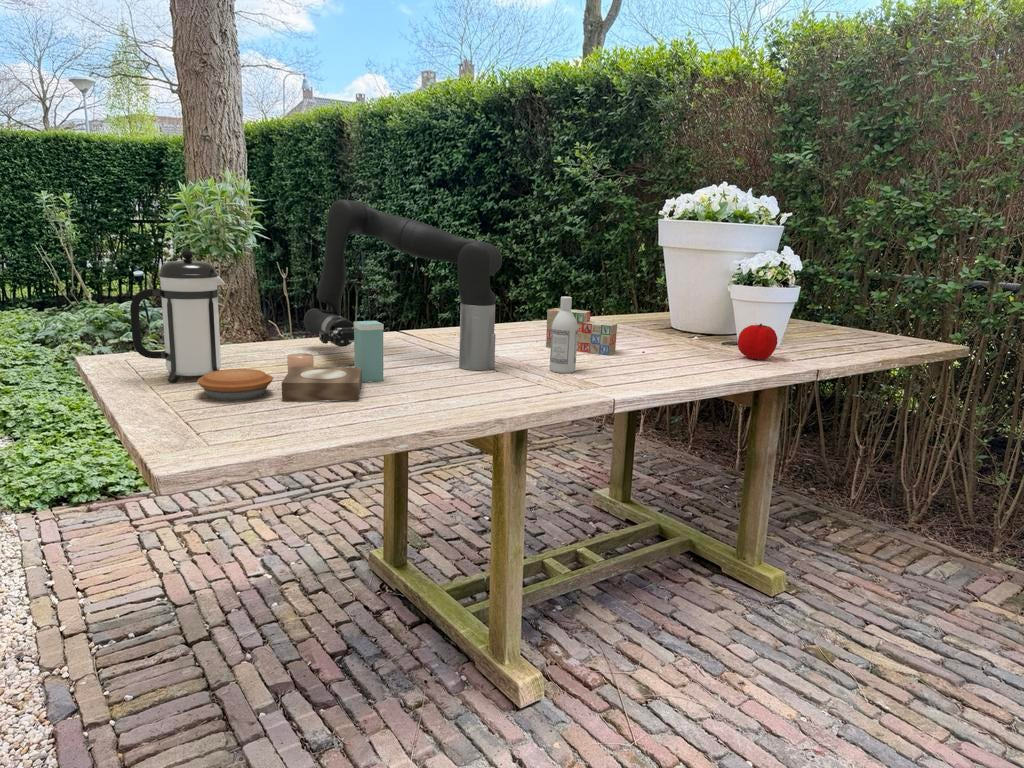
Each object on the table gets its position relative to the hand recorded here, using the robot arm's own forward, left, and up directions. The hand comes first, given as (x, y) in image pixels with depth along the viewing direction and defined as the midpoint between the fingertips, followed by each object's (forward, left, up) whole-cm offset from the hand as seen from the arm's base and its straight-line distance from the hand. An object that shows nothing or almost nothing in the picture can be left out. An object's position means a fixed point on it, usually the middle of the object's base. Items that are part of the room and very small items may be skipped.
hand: (356, 340), depth 187 cm
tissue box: (+6, +23, -8) cm, 25 cm away
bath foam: (-54, -1, -8) cm, 55 cm away
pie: (+25, +25, -8) cm, 36 cm away
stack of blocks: (-67, -33, -8) cm, 75 cm away
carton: (-3, +10, -8) cm, 13 cm away
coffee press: (+39, +9, -8) cm, 40 cm away
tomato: (-120, -21, -8) cm, 123 cm away
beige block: (+13, +11, -8) cm, 18 cm away
